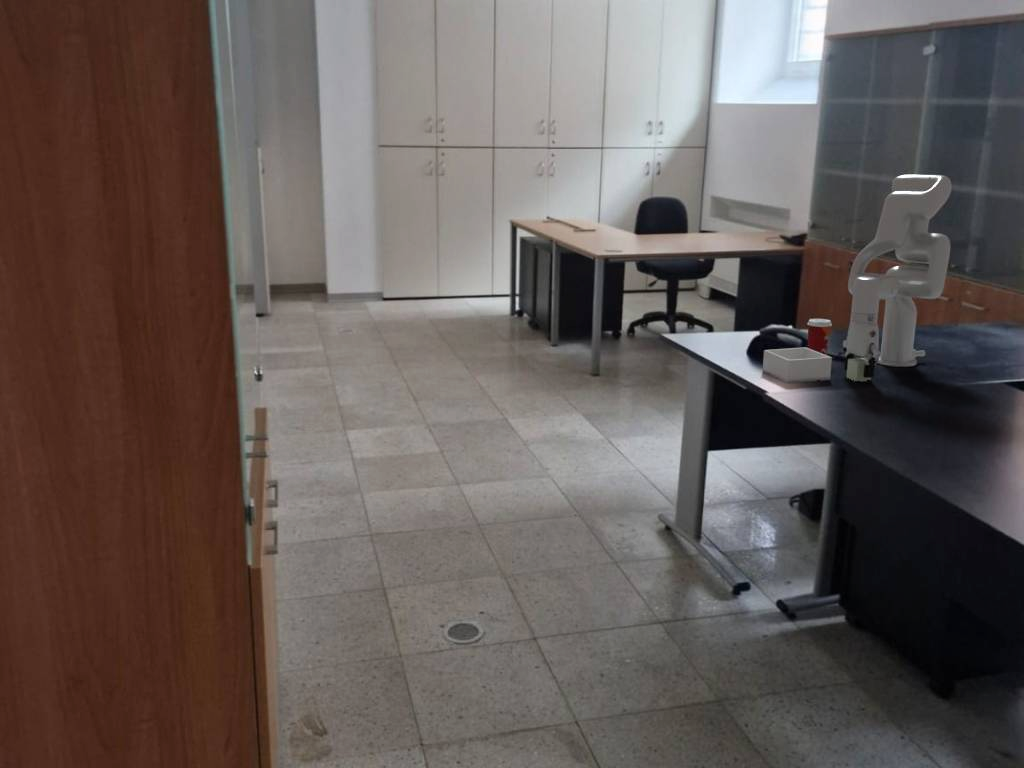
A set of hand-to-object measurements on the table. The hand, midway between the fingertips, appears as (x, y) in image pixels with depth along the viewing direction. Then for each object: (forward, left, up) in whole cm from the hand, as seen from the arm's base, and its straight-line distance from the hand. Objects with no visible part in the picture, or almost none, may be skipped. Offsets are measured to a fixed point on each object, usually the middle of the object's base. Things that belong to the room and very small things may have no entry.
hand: (858, 373), depth 274 cm
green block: (0, 0, -2) cm, 2 cm away
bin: (+16, -9, -2) cm, 18 cm away
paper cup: (0, -23, -2) cm, 23 cm away
